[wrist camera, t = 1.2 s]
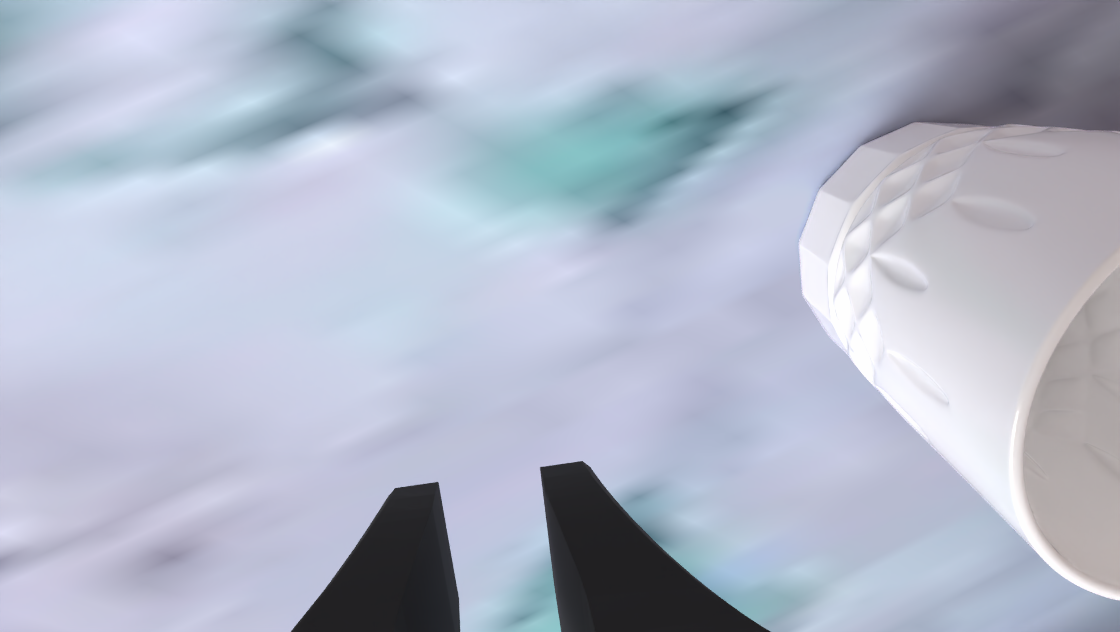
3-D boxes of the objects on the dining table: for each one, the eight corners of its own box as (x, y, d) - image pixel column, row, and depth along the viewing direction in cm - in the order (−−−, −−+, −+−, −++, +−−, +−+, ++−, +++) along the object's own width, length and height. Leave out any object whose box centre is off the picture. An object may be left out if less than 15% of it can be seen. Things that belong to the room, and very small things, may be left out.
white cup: (819, 413, 23) (1054, 670, 14) (737, 172, 20) (966, 292, 11) (1067, 306, 23) (1476, 496, 14) (1019, 47, 20) (1496, 63, 11)
